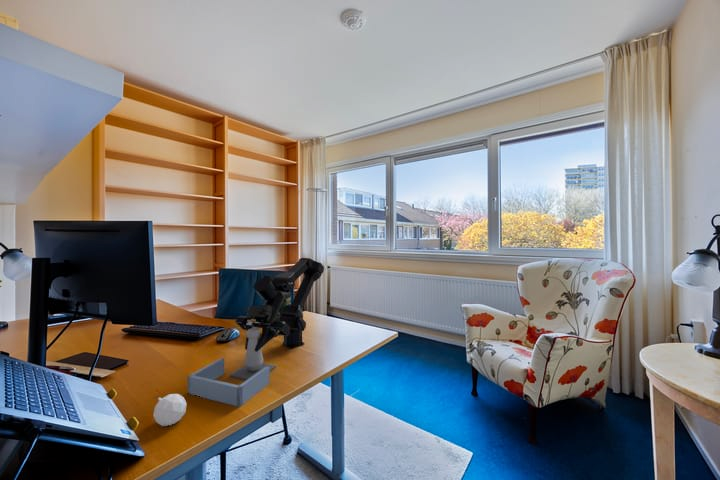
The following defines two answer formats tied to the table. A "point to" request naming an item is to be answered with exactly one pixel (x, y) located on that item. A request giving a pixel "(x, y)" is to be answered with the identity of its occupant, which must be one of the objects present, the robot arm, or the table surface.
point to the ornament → (169, 409)
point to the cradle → (225, 384)
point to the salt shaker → (253, 351)
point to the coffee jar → (288, 298)
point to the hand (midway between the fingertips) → (250, 350)
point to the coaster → (249, 372)
